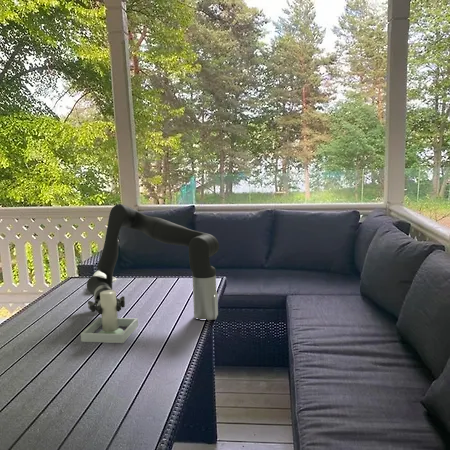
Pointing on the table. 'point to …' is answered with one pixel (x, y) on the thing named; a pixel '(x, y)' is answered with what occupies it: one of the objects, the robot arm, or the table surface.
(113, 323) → the canister
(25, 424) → the table surface
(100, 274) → the mug
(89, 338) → the square picture frame
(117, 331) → the pad
